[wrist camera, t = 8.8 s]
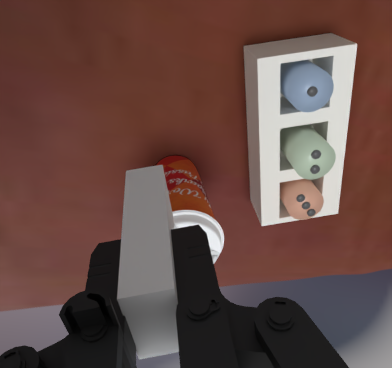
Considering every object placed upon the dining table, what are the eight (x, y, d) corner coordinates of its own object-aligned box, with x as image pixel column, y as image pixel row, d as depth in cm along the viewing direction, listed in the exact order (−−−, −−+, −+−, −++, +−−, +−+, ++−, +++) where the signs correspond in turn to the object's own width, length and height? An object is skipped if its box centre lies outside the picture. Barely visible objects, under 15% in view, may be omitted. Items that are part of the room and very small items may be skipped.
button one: (272, 57, 40) (291, 72, 35) (311, 51, 40) (336, 66, 35) (272, 96, 43) (290, 116, 37) (309, 90, 43) (332, 109, 38)
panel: (243, 46, 41) (257, 58, 36) (331, 32, 41) (357, 43, 36) (250, 199, 52) (261, 226, 47) (319, 188, 52) (337, 213, 47)
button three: (272, 167, 48) (288, 193, 43) (306, 162, 48) (325, 187, 43) (273, 195, 50) (287, 223, 45) (304, 190, 50) (323, 217, 45)
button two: (277, 123, 42) (295, 147, 37) (314, 117, 43) (338, 140, 37) (277, 156, 45) (294, 183, 40) (312, 151, 45) (334, 176, 40)
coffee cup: (216, 160, 48) (241, 233, 35) (189, 208, 52) (203, 290, 39) (156, 137, 45) (161, 207, 33) (132, 189, 49) (128, 271, 36)
